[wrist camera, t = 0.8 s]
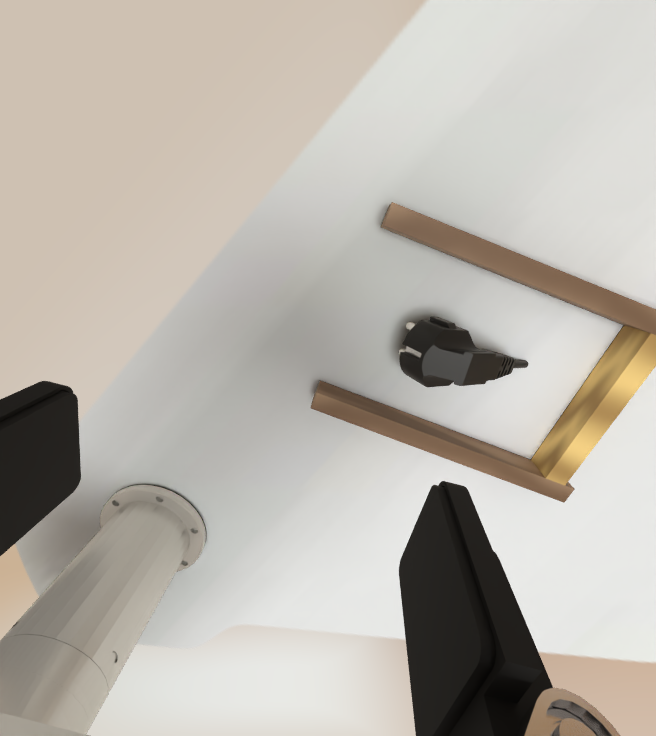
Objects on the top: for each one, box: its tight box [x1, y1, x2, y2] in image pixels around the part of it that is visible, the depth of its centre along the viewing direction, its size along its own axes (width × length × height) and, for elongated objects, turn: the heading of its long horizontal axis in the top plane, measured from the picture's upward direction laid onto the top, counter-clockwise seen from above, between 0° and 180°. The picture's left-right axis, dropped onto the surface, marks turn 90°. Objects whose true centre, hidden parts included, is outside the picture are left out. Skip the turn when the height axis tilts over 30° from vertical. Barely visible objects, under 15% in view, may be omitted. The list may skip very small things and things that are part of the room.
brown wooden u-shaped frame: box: [311, 202, 656, 502], centre depth 31 cm, size 18×26×3 cm
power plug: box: [399, 317, 528, 387], centre depth 31 cm, size 6×8×12 cm
